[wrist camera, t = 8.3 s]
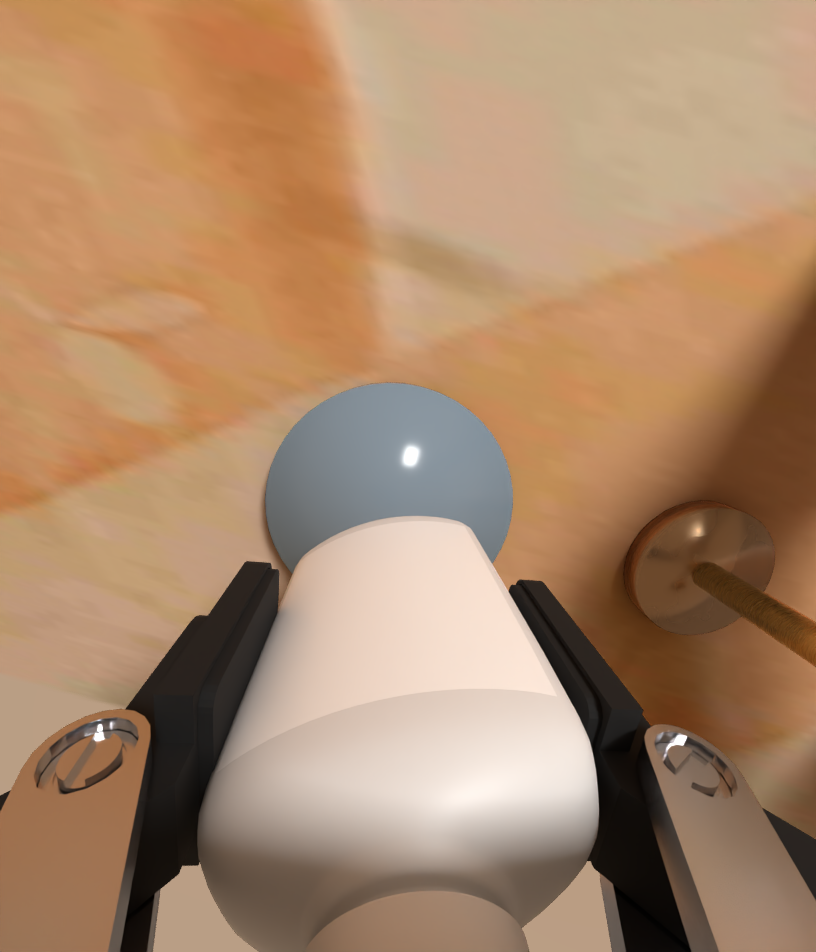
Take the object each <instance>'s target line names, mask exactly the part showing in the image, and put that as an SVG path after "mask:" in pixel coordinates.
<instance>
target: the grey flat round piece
mask: <svg viewBox="0 0 816 952" xmlns="http://www.w3.org/2000/svg"><path fill="white" fill-rule="evenodd" d="M265 504H266V517H267V522H268V528H269V531H270V534H271V537H272V540H273V543H274V545H275V547H276V549H277V551H278V553H279V555H280V557H281V559H282V560H283V562H284V563H285V565H286V566H287V568H288V569H289V571H290V572H291V573H292V574H293V572H294V569H295V567H296V565H297V564H298V562H299V561H300V560H301V558H302V557H303V556H304V555H305V554H306V553H307V552H309V551H310V550H311V549H313V548H314V547H316V546H317V545H319V544H320V543H322V542H323V541H325V540H327V539H329V538H330V537H332V536H334V535H336V534H338V533H340V532H343V531H345V530H347V529H350V528H352V527H355V526H358V525H361V524H364V523H367V522H371V521H375V520H380V519H385V518H391V517H401V516H431V517H440V518H447V519H451V520H455V521H459V522H461V523H463V524H465V525H466V526H468V527H470V528H471V530H472V531H473V533H474V534H475V536H476V538H477V539H478V541H479V543H480V544H481V546H482V548H483V550H484V551H485V553H486V555H487V556H488V558H489V560H490V561H491V563H493V562H494V560H495V558H496V557H497V555H498V553H499V551H500V550H501V548H502V545H503V543H504V540H505V538H506V536H507V532H508V529H509V525H510V521H511V515H512V507H513V490H512V483H511V476H510V472H509V469H508V465H507V462H506V459H505V457H504V455H503V453H502V450H501V448H500V446H499V445H498V443H497V441H496V440H495V438H494V437H493V435H492V433H491V432H490V431H489V430H488V429H487V427H486V426H485V425H484V424H483V423H482V421H481V420H480V419H478V418H477V417H476V416H475V415H474V414H473V413H472V412H471V411H470V410H468V409H467V408H465V407H464V406H462V405H461V404H459V403H458V402H456V401H455V400H453V399H451V398H449V397H447V396H445V395H443V394H441V393H439V392H436V391H433V390H430V389H427V388H424V387H421V386H417V385H411V384H406V383H391V382H386V383H374V384H368V385H363V386H359V387H355V388H352V389H349V390H347V391H344V392H341V393H339V394H337V395H335V396H333V397H331V398H330V399H328V400H326V401H324V402H322V403H321V404H319V405H318V406H317V407H315V408H314V409H312V410H311V411H310V412H308V413H307V414H306V415H305V416H304V417H303V418H302V419H301V420H300V421H299V422H298V423H297V424H296V425H295V426H294V427H293V428H292V430H291V431H290V432H289V433H288V435H287V436H286V437H285V439H284V440H283V442H282V444H281V446H280V447H279V449H278V451H277V453H276V455H275V458H274V460H273V463H272V465H271V468H270V472H269V476H268V480H267V485H266V496H265Z"/></svg>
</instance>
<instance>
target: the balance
mask: <svg viewBox="0 0 816 952" xmlns="http://www.w3.org/2000/svg"><path fill="white" fill-rule="evenodd" d="M774 562H775V551H774V545H773V541H772V538H771V536H770V534H769V532H768V531H767V529H766V528H765V526H764V525H763V524H762V523H761V522H760V521H758V520H757V519H756V518H754V517H753V516H751V515H749V514H747V513H744V512H742V511H739V510H737V509H734V508H732V507H729V506H727V505H724V504H721V503H718V502H712V501H694V502H688V503H684V504H681V505H678V506H675V507H673V508H671V509H669V510H667V511H665V512H663V513H662V514H660V515H659V516H657V517H656V518H655V519H653V520H652V521H651V522H650V523H649V524H648V525H647V526H646V527H645V528H644V529H643V530H642V531H641V532H640V533H639V535H638V536H637V537H636V539H635V540H634V542H633V544H632V546H631V548H630V550H629V552H628V555H627V558H626V562H625V566H624V583H625V587H626V590H627V593H628V596H629V597H630V599H631V601H632V602H633V603H634V604H635V606H636V607H637V608H638V609H639V610H641V611H642V612H643V613H644V614H645V615H646V616H647V617H648V618H649V619H650V620H651V621H652V622H654V623H655V624H656V625H657V626H659V627H661V628H662V629H664V630H667V631H669V632H672V633H676V634H682V635H698V634H704V633H709V632H712V631H715V630H718V629H721V628H723V627H725V626H727V625H729V624H731V623H732V622H734V621H736V620H737V619H739V618H740V617H741V616H742V617H743V618H745V619H746V620H748V621H749V622H751V623H752V624H754V625H755V626H756V627H758V628H759V629H761V630H762V631H764V632H765V633H767V634H768V635H770V636H771V637H772V638H774V639H775V640H777V641H778V642H780V643H781V644H783V645H784V646H786V647H787V648H789V649H790V650H791V651H793V652H794V653H796V654H797V655H799V656H800V657H802V658H803V659H805V660H806V661H807V662H809V663H810V664H812V665H813V666H815V667H816V622H815V621H813V620H812V619H810V618H808V617H806V616H805V615H803V614H801V613H800V612H798V611H796V610H794V609H793V608H791V607H789V606H788V605H786V604H784V603H782V602H781V601H779V600H777V599H775V598H774V597H772V596H770V595H769V594H767V593H765V592H764V591H765V589H766V587H767V585H768V583H769V581H770V579H771V576H772V573H773V568H774Z"/></svg>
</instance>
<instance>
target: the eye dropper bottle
mask: <svg viewBox="0 0 816 952" xmlns="http://www.w3.org/2000/svg"><path fill="white" fill-rule="evenodd" d="M598 827H599V798H598V785H597V776H596V768H595V762H594V757H593V752H592V748H591V744H590V740H589V738H588V736H587V733H586V731H585V729H584V727H583V724H582V722H581V720H580V718H579V716H578V714H577V712H576V710H575V708H574V707H573V705H572V703H571V701H570V699H569V697H568V696H567V694H566V692H565V690H564V688H563V687H562V685H561V683H560V681H559V679H558V678H557V676H556V674H555V672H554V670H553V668H552V667H551V665H550V663H549V661H548V659H547V658H546V656H545V654H544V652H543V650H542V649H541V647H540V645H539V643H538V642H537V640H536V638H535V637H534V635H533V633H532V631H531V630H530V628H529V626H528V625H527V623H526V621H525V619H524V618H523V616H522V614H521V613H520V611H519V609H518V607H517V606H516V604H515V602H514V601H513V599H512V597H511V595H510V594H509V592H508V590H507V589H506V587H505V585H504V583H503V582H502V580H501V578H500V577H499V575H498V573H497V572H496V570H495V568H494V566H493V565H492V563H491V561H490V560H489V558H488V556H487V555H486V553H485V551H484V550H483V548H482V546H481V544H480V543H479V541H478V539H477V538H476V536H475V534H474V533H473V531H472V530H471V528H470V527H468V526H466V525H465V524H463V523H461V522H459V521H455V520H451V519H447V518H440V517H431V516H401V517H391V518H385V519H380V520H375V521H371V522H367V523H364V524H361V525H358V526H355V527H352V528H350V529H347V530H345V531H343V532H340V533H338V534H336V535H334V536H332V537H330V538H329V539H327V540H325V541H323V542H322V543H320V544H319V545H317V546H316V547H314V548H313V549H311V550H310V551H309V552H307V553H306V554H305V555H304V556H303V557H302V558H301V560H300V561H299V562H298V564H297V565H296V567H295V569H294V572H293V574H292V577H291V579H290V581H289V584H288V586H287V588H286V591H285V593H284V596H283V598H282V600H281V603H280V605H279V608H278V613H277V615H276V618H275V620H274V622H273V625H272V627H271V630H270V632H269V635H268V637H267V639H266V642H265V644H264V647H263V649H262V652H261V654H260V657H259V659H258V661H257V664H256V666H255V669H254V671H253V674H252V676H251V679H250V681H249V683H248V686H247V688H246V691H245V693H244V696H243V698H242V701H241V703H240V705H239V708H238V710H237V713H236V715H235V718H234V720H233V723H232V725H231V728H230V731H229V733H228V736H227V738H226V741H225V743H224V746H223V748H222V751H221V753H220V756H219V759H218V761H217V764H216V766H215V769H214V771H213V772H212V774H211V776H210V779H209V782H208V784H207V787H206V790H205V794H204V798H203V801H202V805H201V808H200V812H199V818H198V830H197V846H198V856H199V861H200V864H201V867H202V870H203V873H204V876H205V879H206V882H207V885H208V888H209V890H210V892H211V894H212V896H213V898H214V900H215V902H216V904H217V906H218V907H219V909H220V911H221V913H222V914H223V916H224V917H225V919H226V921H227V922H228V923H229V925H230V926H231V928H232V929H233V930H234V932H235V933H236V934H237V935H238V936H240V937H241V938H242V939H243V940H244V941H246V942H247V943H248V944H249V945H251V946H252V947H253V948H255V949H256V950H257V951H259V952H529V949H528V945H527V941H526V938H525V935H524V932H523V931H522V929H521V928H522V927H524V926H525V925H526V924H527V923H528V922H530V921H531V920H532V919H533V918H535V917H536V916H537V915H538V914H540V913H541V912H542V911H543V910H544V909H545V908H546V907H547V906H549V905H550V904H551V903H552V902H553V901H554V900H555V899H556V898H557V897H558V896H559V895H560V894H561V893H562V892H563V891H564V890H565V889H566V888H567V887H568V886H569V884H570V883H571V882H572V881H573V880H574V878H575V877H576V876H577V875H578V873H579V872H580V871H581V869H582V868H583V867H584V865H585V864H586V862H587V860H588V857H589V855H590V853H591V851H592V848H593V846H594V843H595V841H596V838H597V832H598Z"/></svg>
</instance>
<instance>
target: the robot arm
mask: <svg viewBox="0 0 816 952" xmlns="http://www.w3.org/2000/svg"><path fill="white" fill-rule="evenodd" d="M509 594H510V595H511V597H512V599H513V601H514V602H515V604H516V606H517V607H518V609H519V611H520V613H521V614H522V616H523V618H524V619H525V621H526V623H527V625H528V626H529V628H530V630H531V631H532V633H533V635H534V637H535V638H536V640H537V642H538V643H539V645H540V647H541V649H542V650H543V652H544V654H545V656H546V658H547V659H548V661H549V663H550V665H551V667H552V668H553V670H554V672H555V674H556V676H557V678H558V679H559V681H560V683H561V685H562V687H563V688H564V690H565V692H566V694H567V696H568V697H569V699H570V701H571V703H572V705H573V707H574V708H575V710H576V712H577V714H578V716H579V718H580V720H581V722H582V724H583V727H584V729H585V731H586V733H587V736H588V738H589V740H590V744H591V748H592V752H593V757H594V762H595V768H596V776H597V785H598V798H599V827H598V832H597V838H596V841H595V843H594V846H593V848H592V851H591V853H590V855H589V857H588V860H587V861H591V863H592V865H593V867H594V869H596V870H597V871H598V872H599V873H600V882H601V888H602V894H603V900H604V906H605V912H606V918H607V924H608V930H609V936H610V942H611V948H612V952H816V839H814V838H812V837H811V836H809V835H807V834H805V833H804V832H802V831H800V830H799V829H797V828H795V827H794V826H792V825H790V824H789V823H787V822H785V821H783V820H782V819H780V818H778V817H777V816H775V815H773V814H772V813H770V812H768V811H766V810H765V809H763V808H762V807H761V806H760V804H759V802H758V800H757V799H756V797H755V795H754V794H753V792H752V790H751V788H750V787H749V785H748V783H747V782H746V780H745V778H744V777H743V775H742V774H741V773H740V771H739V770H738V769H737V767H736V766H735V764H734V763H733V762H732V761H730V760H729V759H728V758H727V757H726V756H725V755H724V754H723V753H722V752H721V751H720V750H719V749H717V748H716V747H715V746H713V745H712V744H711V743H709V742H708V741H706V740H705V739H703V738H701V737H699V736H698V735H696V734H694V733H692V732H690V731H687V730H685V729H682V728H680V727H677V726H672V725H667V724H660V725H653V726H652V727H651V726H650V725H649V723H648V722H647V721H646V719H645V718H644V717H643V715H642V712H643V709H642V708H641V706H640V705H639V704H638V703H637V701H636V700H635V699H634V698H633V696H632V695H631V694H630V692H629V691H628V690H627V689H626V687H625V686H624V685H623V683H622V682H621V681H620V680H619V678H618V677H617V676H616V675H615V673H614V672H613V671H612V669H611V668H610V667H609V666H608V664H607V663H606V662H605V660H604V659H603V658H602V657H601V655H600V654H599V653H598V652H597V650H596V649H595V648H594V646H593V645H592V644H591V643H590V641H589V640H588V639H587V638H586V636H585V635H584V634H583V632H582V631H581V630H580V629H579V627H578V626H577V625H576V623H575V622H574V621H573V620H572V618H571V617H570V616H569V615H568V613H567V612H566V611H565V609H564V608H563V607H562V606H561V604H560V603H559V602H558V601H557V599H556V598H555V597H554V595H553V594H552V593H551V592H550V590H549V589H548V588H547V586H546V585H545V584H544V583H543V582H542V581H533V580H519V581H518V582H517V583H516V585H511V587H510V589H509ZM278 595H279V570H278V569H272V566H271V563H264V562H249V561H246V562H245V563H244V565H243V566H242V567H241V569H240V570H239V572H238V573H237V575H236V576H235V578H234V579H233V580H232V582H231V583H230V585H229V586H228V588H227V589H226V590H225V592H224V593H223V595H222V596H221V598H220V599H219V601H218V602H217V603H216V605H215V606H214V608H213V609H212V611H211V612H210V614H209V615H208V616H203V615H199V616H196V617H195V618H194V619H193V620H192V621H191V622H190V623H189V625H188V626H187V627H186V629H185V630H184V631H183V633H182V634H181V635H180V637H179V638H178V639H177V641H176V642H175V643H174V645H173V646H172V647H171V649H170V650H169V651H168V653H167V654H166V655H165V657H164V658H163V659H162V661H161V662H160V664H159V665H158V666H157V668H156V669H155V670H154V672H153V673H152V674H151V676H150V677H149V678H148V680H147V681H146V682H145V684H144V685H143V686H142V688H141V689H140V690H139V692H138V693H137V694H136V696H135V697H134V698H133V700H132V701H131V702H130V704H129V705H128V706H127V708H126V709H116V710H107V711H102V712H99V713H95V714H92V715H89V716H85V717H84V718H81V719H79V720H77V721H75V722H73V723H71V724H69V725H67V726H65V727H63V728H62V729H61V730H59V731H58V732H56V733H55V734H53V735H52V736H51V737H49V738H48V739H47V740H45V742H43V743H42V744H41V745H40V746H39V747H38V748H37V749H36V750H35V751H34V752H33V753H32V754H31V756H30V757H29V759H28V760H27V762H26V763H25V764H24V766H23V767H22V769H21V771H20V773H19V775H18V777H17V779H16V781H15V783H14V785H13V787H12V789H11V790H10V791H8V792H6V793H4V794H3V795H1V796H0V952H153V945H154V938H155V928H156V921H157V913H158V905H159V897H160V889H161V888H162V887H163V886H165V885H166V884H167V883H168V882H169V881H171V880H172V879H173V878H174V877H175V876H177V875H178V874H179V872H180V869H181V867H182V866H188V865H189V866H190V865H191V866H192V865H199V862H200V861H199V856H198V846H197V830H198V818H199V812H200V808H201V805H202V801H203V798H204V794H205V790H206V787H207V784H208V782H209V779H210V776H211V774H212V772H213V771H214V769H215V766H216V764H217V761H218V759H219V756H220V753H221V751H222V748H223V746H224V743H225V741H226V738H227V736H228V733H229V731H230V728H231V725H232V723H233V720H234V718H235V715H236V713H237V710H238V708H239V705H240V703H241V701H242V698H243V696H244V693H245V691H246V688H247V686H248V683H249V681H250V679H251V676H252V674H253V671H254V669H255V666H256V664H257V661H258V659H259V657H260V654H261V652H262V649H263V647H264V644H265V642H266V639H267V637H268V635H269V632H270V630H271V627H272V625H273V622H274V620H275V618H276V615H277V613H278Z"/></svg>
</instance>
